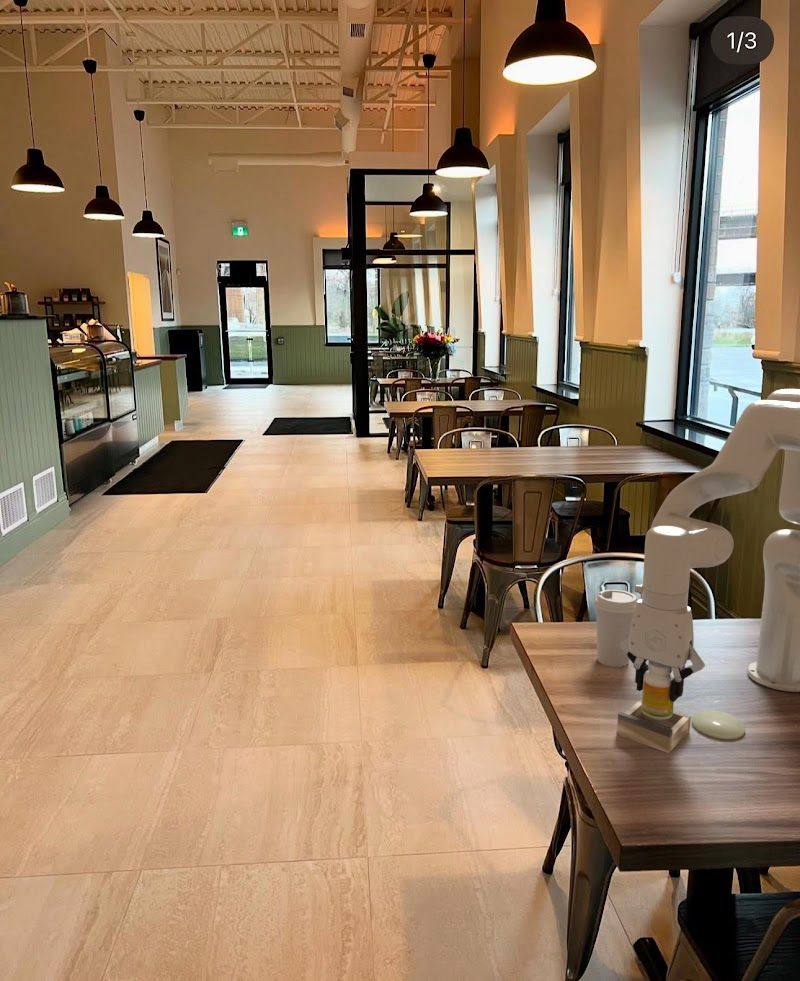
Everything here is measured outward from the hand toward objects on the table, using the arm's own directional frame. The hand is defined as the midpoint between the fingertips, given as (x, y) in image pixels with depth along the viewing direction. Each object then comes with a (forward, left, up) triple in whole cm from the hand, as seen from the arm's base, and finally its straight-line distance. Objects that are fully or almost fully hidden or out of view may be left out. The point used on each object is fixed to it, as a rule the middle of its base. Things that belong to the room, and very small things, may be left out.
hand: (658, 692), depth 136 cm
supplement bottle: (0, 0, -4) cm, 4 cm away
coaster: (-9, +8, -8) cm, 15 cm away
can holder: (+1, 0, -8) cm, 8 cm away
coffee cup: (-23, -19, -8) cm, 31 cm away
